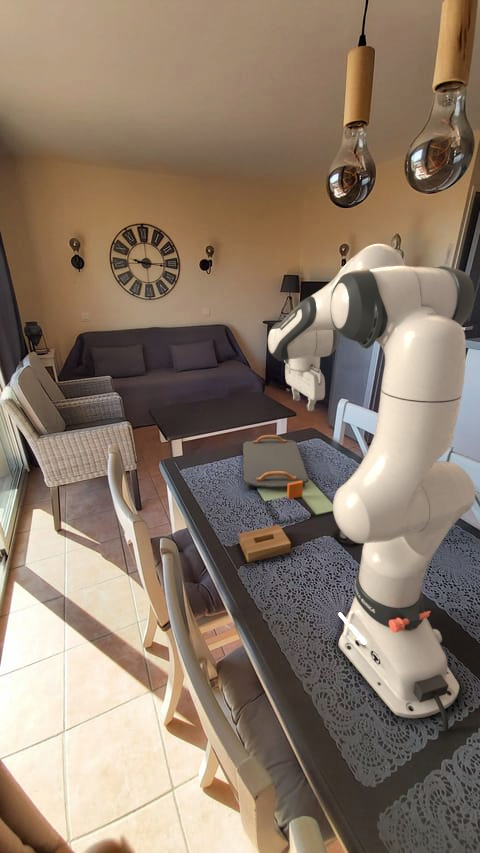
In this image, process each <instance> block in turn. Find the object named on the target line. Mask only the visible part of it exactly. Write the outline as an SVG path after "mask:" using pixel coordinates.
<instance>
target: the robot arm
mask: <svg viewBox="0 0 480 853" xmlns="http://www.w3.org/2000/svg"><path fill="white" fill-rule="evenodd" d="M474 303H475V288H474V283H473V280H472V279H471V277H470V276H469V275H468V273H466V272H465V271H462V270H460V269H457V268H455V267H449V266H444V265H437V266H435V265H434V266H409V265H405V262H404V259H403V257H402V255H401V253H400V252H399V251H398V250H397V249H395V248H394V247H392V246H391V245H388V244H384V243H375V244H371V245H368V246H366V247H364V248H363V249H361V250H360V251H359V252H357V253H356V254H355V255H354V256H353V257H352V258H350V259H349V260H348V261H347V262H346V263H345V265H344V266H343V267H342V268H341V269H340V270H339V271H338V273H337V274H336V275H335V277H334V278H333V279H332V280H331V281H330V282H328V283H327V284H326V285H324V286H323V287H322V288H321V289H319V290H318V291H316V292H315V293H313V294H312V295H309V296H308V297H306V298H304V300H301V301H300V302H299V303H298V304H297V305H296V306H294V308H293V309H292V310H290V312H289V313H288V314H287V315H286V316H285V317H284V318H283V319H282V320H281V321H277V322H275V323H274V324H273V326H272V327H271V328H270V330H269V332H268V336H267V347H268V351H269V354H270V355H271V356H273V358H275V359H276V360H278V361H279V362H282V361H283V362H284V363H285V365H284V376H285V377H284V378H285V383H286V384H287V385H288V386H290V387H291V392H292V399H293V401H295V402H300V401H301V395H300V393H301V394H302V395H303V396H305V397H307V400H308V403H307V404H306V410H307V411H308V412H312V411H314V410H315V405H316V403H317V401H322V400H324V398H325V396H326V380H325V376H324V374H323V373H322V371H321V368H320V367H321V358H325V357H329V356H331V355H332V354H333V353H334V352H335V351H336V349H337V348H338V344H339V334H340V335H341V336H343V337H344V338H346V339H348V340H351V341H354V342H357V344H359V345H360V346H361V348H362V349H363V348H364V349H370V348H371V347H372V346H373V344H374V343H375V342H377V344H378V345H379V346H380V347H381V348H382V351H383V354H384V368H383V373H382V378H381V385H380V386H381V387H380V395H379V402H378V403H379V404H378V411H377V419H376V423H375V424H376V425H375V430H374V434H373V436H372V440H371V443H370V445H369V447H368V450H367V451H366V453H365V455H364V457H363V459H362V461H361V462H360V464H359V465H358V467H357V468H356V470H355V471H354V473H353V474H352V475H351V476H350V477H349V478H348V480H346V482H344V483H343V484H342V485H341V486H340V487H339V488H338V489H336V492H335V494H334V498H333V502H332V504H333V511H332V513H333V517H334V521H335V523H336V525H337V526H338V528H340V530H341V531H342V532H343V533H344V534H345V535H346V536H347V537H348V538H349V539H351V540H352V541H354V542H356V544H363V545H362V549H361V550H362V551H361V559H360V563H359V564H360V565H359V569H358V571H357V573H356V577H355V581H354V597H353V600H352V603H351V606H350V609H349V611H348V613H347V615H346V616H344V615H343V613H342V612H338V616H339V617H340V619H341V620H342V621H343V631H342V633H341V635H340V638H339V640H338V647H339V649H340V650H341V651H342V653H343V654H344V656H346V657H347V659H348V660H349V661H350V663H352V665H353V666H354V667H355V668H356V670H357V671H358V672H359V673H360V674H361V676H362V677H363V678H364V679H365V681H366V682H367V683H368V684H369V686H371V688H372V689H373V690H374V691H375V692H376V694H377V695H378V696H379V697H380V698H381V700H382V701H383V702H384V704H385V705H386V706H387V707H388V708H389V710H390V711H391V712H392V713H393V714H394V715H395V716H398V717H401V718H406V719H422V718H426V717H430V716H433V715H435V714H438V713H440V715H441V719H442V720H441V722H442V723H441V724H442V730H444V731H445V732H447V731H449V719H448V714H447V711H446V709H447V708H449V707H450V706H451V705H452V704H453V703H454V702H455V701H456V700H457V698H458V695H459V692H460V684H459V682H458V681H457V679H456V677H455V676H454V674H453V672H452V671H451V669H450V667H449V666H448V659H447V656H446V653H445V651H444V649H443V647H442V645H441V643H442V642H443V637H442V634H441V631H439V630H438V629H437V628H433V627H432V626H431V625H432V624H430V621H429V620H428V618H429V617H430V616H431V615H430V613H431V612H432V611H431V610H427V611H426V610H425V602H424V595H423V590H422V588H423V585H424V581H425V577H426V573H427V570H428V567H429V564H430V562H431V561H432V558H433V557H434V555H435V554H436V552H437V550H438V549H439V547H440V545H441V544H442V542H443V541H444V540H445V538H446V536H447V535H448V533H449V532H450V530H451V529H452V528H453V526H454V525H455V524H456V522H458V520H460V518H462V517H463V516H464V515H465V514H466V513H467V512H468V511H469V510H471V509H472V507H473V506H474V503H475V500H476V488H475V485H474V482H473V480H472V478H471V476H470V475H469V473H468V472H467V471H466V470H465V469H464V468H463V467H461V466H460V465H459V464H456V463H454V462H451V461H441V460H440V459H441V457H443V456H444V455H445V454H446V453H447V452H448V451H449V449H450V447H451V446H452V444H453V441H454V437H455V432H456V427H457V421H458V416H459V410H460V405H461V401H462V397H463V396H462V395H463V390H464V384H465V374H466V361H467V357H466V356H467V355H466V354H467V353H466V352H467V349H466V348H467V347H466V346H467V344H466V334H465V330H464V329H463V327H462V326H463V325H464V323H465V322H467V320H468V318H469V317H470V315H471V313H472V311H473V307H474ZM438 460H440V461H438Z"/></svg>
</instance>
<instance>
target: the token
mask: <svg viewBox="0 0 480 853" xmlns="http://www.w3.org/2000/svg"><path fill="white" fill-rule="evenodd" d="M302 492H303V482H302V481H297V482H292V483H288V488H287V497H286V498H287V499H288V500H292V499H296V498H302Z"/></svg>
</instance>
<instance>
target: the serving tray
mask: <svg viewBox="0 0 480 853" xmlns="http://www.w3.org/2000/svg"><path fill="white" fill-rule="evenodd" d="M242 455H243V458H242V465H243V466H242V472H243V473H242V474H243V483H244V484H246V485H247V488H248V489H249V490H252V489H253V488H254V487H288V483H292V482H297V481H302V482H303V487H304V486H305V483H306V482H308V481H309V479H310V478H309V476H308V472H307V470H306V467H305V464H304V461H303V458H302V455H301V452H300V449H299V446H298V443H297V442H296V441H295V440H292V439H283V438H282V437H281V436H280V435H276V434H264V435H261V436H259V437H258V438H257V439H254V440H249V441H245V442H244V443H243V444H242ZM308 478H309V479H308Z"/></svg>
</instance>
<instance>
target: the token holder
mask: <svg viewBox="0 0 480 853" xmlns="http://www.w3.org/2000/svg"><path fill="white" fill-rule="evenodd" d="M238 543H239V544H240V547H241V550H242V552H243V554H244V556H245V560H246V561H247V563H253V562H257V561H260V560H264V559H268V558H272V557H275V556H281V555H284V554H289V553H291V552H292V551H291V549H292V543H291V541H290V539H289V537H288V536H287V535H286V533H285V531H284V530H283V528H282V527H281V525H280V524H276V525H271V526H267V527H263V528H259V529H253V530H250V531H246V532H240V533H238Z"/></svg>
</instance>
